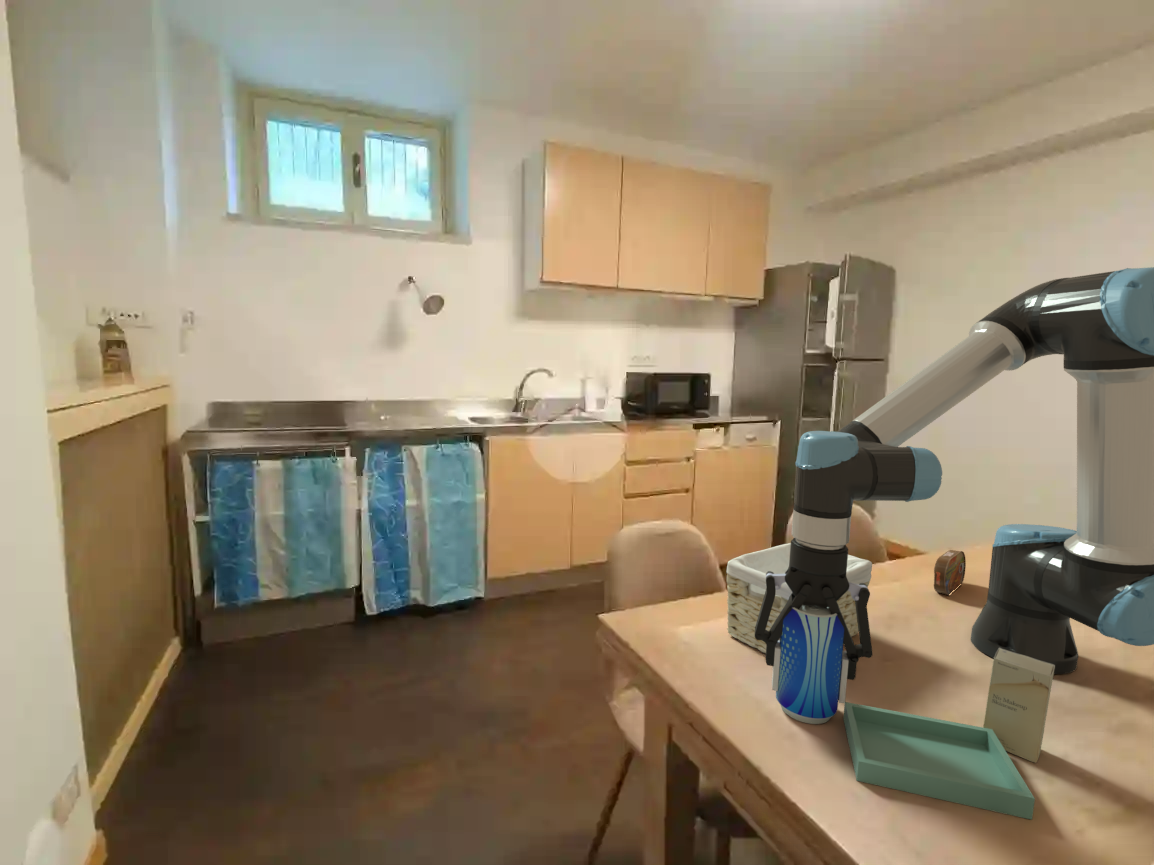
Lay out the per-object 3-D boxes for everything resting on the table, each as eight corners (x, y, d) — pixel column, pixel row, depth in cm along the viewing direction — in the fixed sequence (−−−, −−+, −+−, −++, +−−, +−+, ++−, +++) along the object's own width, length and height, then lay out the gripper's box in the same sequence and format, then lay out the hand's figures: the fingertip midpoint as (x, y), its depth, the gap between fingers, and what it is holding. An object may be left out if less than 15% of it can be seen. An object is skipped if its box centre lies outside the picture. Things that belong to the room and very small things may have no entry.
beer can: (843, 731, 80) (853, 621, 78) (779, 722, 82) (787, 614, 80) (829, 697, 88) (838, 596, 86) (771, 689, 90) (779, 591, 88)
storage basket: (793, 605, 122) (798, 537, 120) (870, 636, 109) (877, 560, 107) (717, 635, 107) (722, 558, 106) (795, 675, 95) (802, 588, 93)
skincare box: (980, 741, 79) (990, 657, 77) (986, 727, 82) (997, 646, 80) (1039, 765, 74) (1051, 676, 73) (1043, 749, 78) (1055, 663, 76)
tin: (944, 600, 126) (949, 562, 125) (928, 595, 129) (932, 558, 127) (965, 583, 136) (969, 548, 135) (950, 579, 139) (953, 545, 137)
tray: (989, 747, 78) (992, 729, 77) (1031, 819, 65) (1034, 798, 65) (843, 718, 83) (844, 701, 83) (856, 780, 71) (858, 761, 70)
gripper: (897, 542, 82) (882, 692, 85) (742, 525, 88) (733, 665, 91) (909, 559, 75) (893, 722, 78) (740, 540, 81) (731, 691, 84)
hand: (807, 691), depth 85 cm, fingers closed on beer can, 8 cm apart
